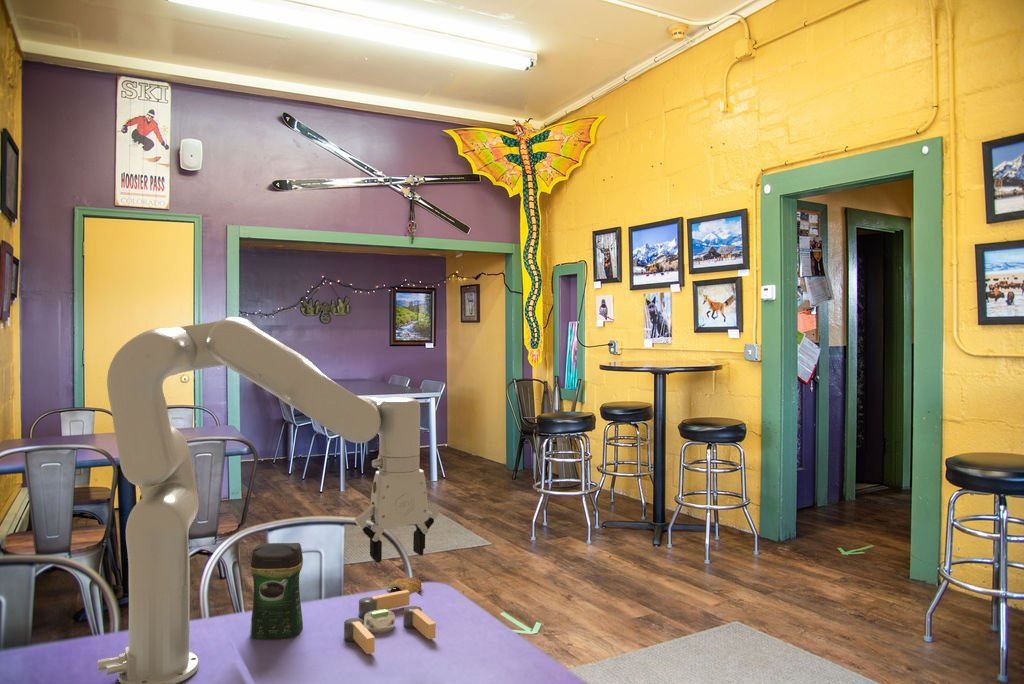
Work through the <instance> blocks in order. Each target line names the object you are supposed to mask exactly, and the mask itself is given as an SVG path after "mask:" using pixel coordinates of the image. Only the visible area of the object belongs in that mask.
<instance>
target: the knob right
mask: <svg viewBox="0 0 1024 684" xmlns="http://www.w3.org/2000/svg"><path fill="white" fill-rule="evenodd" d="M422 609H423V608H422V607H421V606H417V605H411V606H410V605H408V606H405V607H404V608H403V614H402V615H403V623H402V625H403V627H405V628H406V629H415V628H416V630H417V631H418V632H420V633H421V634H422V636H424V637H425V638H426V639H428V640H432V639H436V625H437V624H436V622H435V621H433V620H432V619H431V618H430V617H429V616H427V615H426V614H425V613H424V612H423V611H422Z"/></svg>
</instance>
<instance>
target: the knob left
mask: <svg viewBox="0 0 1024 684" xmlns="http://www.w3.org/2000/svg"><path fill="white" fill-rule="evenodd" d="M343 623H344V624H343V640H344V641H346V642H350V643H351V642H352V643H353V642H355V643H356V644H357V645H358V646H359V647H360V648H361V650H363V652H365V654H366V655H369V654H373V653H375V648H376V647H375V640H376V639H375V636H374V634H373V633H370V632H369V631H368V630H367V629H366V628H365V627H364V619H363V618H360V617H355V618H353V617H352V618H348V619H346V620H344V622H343Z"/></svg>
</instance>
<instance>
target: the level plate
mask: <svg viewBox="0 0 1024 684" xmlns="http://www.w3.org/2000/svg"><path fill="white" fill-rule="evenodd" d="M395 623H396V614H395V613H394V612H393V611H391V610H390V609H384V610H374V611H370V612H368V613H366V614H365V615H364V618H363V625H364V627H365V628H366V629H367V630H368V631H369V632H370V633H371V634H384V633H389V632H391V631H393V630H394V629H395V628H396V627H395V626H396V624H395Z"/></svg>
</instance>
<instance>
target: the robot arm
mask: <svg viewBox="0 0 1024 684" xmlns="http://www.w3.org/2000/svg"><path fill="white" fill-rule="evenodd" d="M222 366H225V367H227V368H228V369H230V370H231V371H233V372H235V373H236V374H238V375H240V376H242V377H243V378H245V379H247V380H249V381H250V382H252V383H254V384H256V385H257V386H259V387H261V388H262V389H263V390H265V391H267V392H269V393H271V394H272V395H274V396H275V397H277V398H278V399H280V400H281V401H283V403H285V404H286V405H288V406H290V407H292V408H294V409H295V410H297V411H299V412H300V413H302V414H304V415H305V416H306V417H308V418H310V419H311V420H312V421H314V422H315V423H317V424H319V425H320V426H322V427H324V428H325V429H327V430H329V431H330V432H333V433H334V434H335V435H337V436H339V437H341V438H342V439H345V441H348V442H350V443H356V444H365V443H366V442H369V441H371V440H373V439H374V438H375V437H376V436H377V434H378V435H379V439H378V441H379V442H378V443H379V444H378V445H379V446H378V450H379V451H378V455H377V458H376V459H373V460H371V467H372V468H377V469H378V470H376V471H375V473H374V478H373V483H372V487H371V488H372V489H371V494H370V495H371V496H370V505H369V506H368V507H367V508H366V509H365V510H363V512H361V513H360V514H359V515H358V516H356V517H355V518H354V522H355V523H356V525H357V526H358V527H359V529H360V531H361V532H363V533H364V535H366V536H367V538H369V556H370V557H371V559H372V560H373V561H374V562H376V563H377V564H378V563H381V562H383V561H382V551H383V550H382V549H383V542H382V540H380V538H381V536H382V534H383V532H384V531H385V530H390V529H396V528H404V527H411V526H414V527H415V530H414V531H413V537H412V539H413V543H412V544H413V546H412V548H413V549H412V550H413V552H414V553H416V554H417V556H418V555H419V556H424V550H425V548H426V534H428V531H429V529H430V528H431V527H432V525H433V524H434V523H435V520H436V518H437V517H438V515H439V513H440V509H439V508H438V507H437V506H435V505H433V504H432V503H430V502H429V501H428V490H427V482H426V476H425V472H424V470H423V469H421V468H420V460H421V459H420V454H421V453H420V449H421V448H420V447H421V445H420V444H421V443H420V442H421V404H420V402H419V401H418V400H417V398H414V397H413V398H412V397H403V396H402V397H400V396H397V397H396V396H395V397H387V398H380V397H371V396H364V395H356V394H355V393H353V392H351V391H350V390H348V389H346V388H344V387H343V386H341V385H340V384H338V383H337V382H335V381H334V380H333V379H331V378H329V377H328V376H327V375H326V374H324V373H323V372H322V371H321V370H320V369H319V368H317V367H316V365H315V364H313V362H311V360H309V358H306V357H305V356H304V355H302V354H301V353H299V352H297V351H296V350H294V349H292V348H291V347H289V346H287V345H286V344H284V343H282V342H280V341H279V340H277V339H275V337H272V336H271V335H269V334H268V333H266V332H264V331H263V330H261V329H260V328H258V326H256V324H254V323H253V322H252V321H251V320H249V319H246V318H244V317H238V316H229V317H225V318H221V319H220V320H216V321H209V322H204V323H203V322H202V323H196V324H192V325H191V324H190V325H183V326H181V325H180V326H175V327H157V328H152V329H148V330H146V331H144V332H141V333H139V334H138V335H136V336H133V338H131V339H130V340H128V341H127V342H126V343H124V344H123V345H122V346H121V348H119V350H118V351H117V352H116V353H115V355H114V356H113V358H112V360H111V362H110V364H109V368H108V371H107V377H106V383H107V384H106V386H107V393H108V399H109V405H110V406H109V407H110V410H111V417H112V425H113V431H114V435H115V441H116V446H117V452H118V458H119V460H118V461H119V466H120V469H121V472H122V474H123V476H124V478H126V480H127V481H128V482H129V483H131V484H132V485H134V486H137V487H139V490H140V491H139V492H140V496H141V499H140V500H138V502H136V504H135V505H134V506H133V508H132V509H131V511H130V513H129V515H128V518H127V521H126V525H125V542H126V543H125V544H126V550H127V559H128V560H127V562H128V646H126V647H125V651H124V652H122V653H119V654H118V656H114V657H107V658H106V657H105V658H101V659H97V673H99V672H105V671H106V675H107V676H109V675H113V674H116V673H117V680H119V681H118V683H119V682H120V683H121V684H179V683H182V682H184V681H185V680H187V679H189V678H190V677H191V676H194V674H195V673H196V672H197V670H198V669H199V663H200V662H199V657H198V656H197V655H196V654H195V653H193V652H191V651H190V605H191V604H190V603H191V602H190V598H191V596H190V595H191V594H190V593H191V592H190V590H191V587H190V586H191V585H190V583H191V581H190V579H191V576H190V575H191V574H190V572H191V571H190V570H191V567H190V565H191V564H190V550H189V549H190V548H189V530H190V527H191V526H192V524H193V522H194V521H195V519H196V517H197V514H198V513H199V512H198V511H199V506H200V505H199V494H198V488H197V484H196V483H197V482H196V478H195V472H194V467H193V461H192V456H191V455H192V454H191V450H190V447H189V444H188V440H187V439H186V437H185V436H184V435H183V433H182V432H181V431H180V430H178V429H177V428H175V427H174V426H171V422H170V418H169V413H168V412H169V411H168V404H167V401H166V397H165V395H164V392H163V391H164V390H163V384H164V382H165V380H166V379H168V378H169V377H172V376H175V375H178V374H181V373H185V372H191V371H198V370H205V369H210V368H216V367H222ZM369 519H370V522H371V523H372V525H371V528H370V527H369V525H368V523H367V521H368V520H369ZM120 683H119V684H120Z"/></svg>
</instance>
